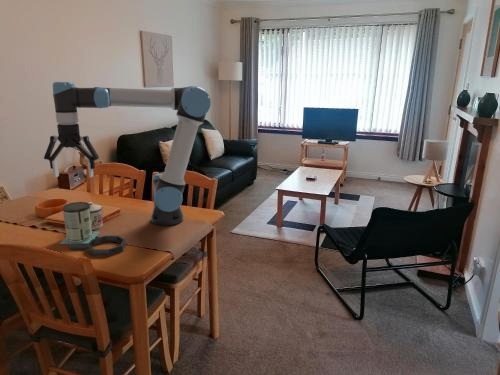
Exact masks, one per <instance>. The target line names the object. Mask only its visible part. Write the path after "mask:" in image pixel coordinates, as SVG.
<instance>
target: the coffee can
mask: <svg viewBox="0 0 500 375" xmlns="http://www.w3.org/2000/svg"><path fill="white" fill-rule="evenodd" d="M61 209H62V212H63V221H64V228H65V234H66V235H65V236H66V237H67V240H68V241H70V242H82V241H86V240H89V239H90V238H92V237H93V232H94V231H93V230H92V222H91V213H90V204H89V202H86V201H85V202H84V201H75V202H70V203H66V204H64V205H63V206H62V208H61Z"/></svg>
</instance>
